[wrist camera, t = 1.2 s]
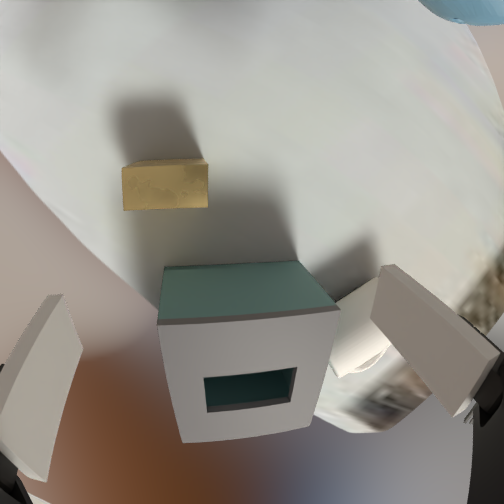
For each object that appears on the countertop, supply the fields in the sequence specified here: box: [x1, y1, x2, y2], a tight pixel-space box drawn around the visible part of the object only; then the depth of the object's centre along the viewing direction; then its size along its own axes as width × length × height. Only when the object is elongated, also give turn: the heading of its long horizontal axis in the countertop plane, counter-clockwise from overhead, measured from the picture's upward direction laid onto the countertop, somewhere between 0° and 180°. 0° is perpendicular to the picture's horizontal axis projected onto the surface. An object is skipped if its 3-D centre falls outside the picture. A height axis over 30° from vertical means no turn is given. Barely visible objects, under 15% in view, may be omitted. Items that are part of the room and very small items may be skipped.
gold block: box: [122, 159, 208, 211], centre depth 22 cm, size 6×3×7 cm, turn 88°
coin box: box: [157, 261, 341, 443], centre depth 28 cm, size 16×14×10 cm
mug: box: [328, 278, 392, 378], centre depth 33 cm, size 12×10×8 cm
